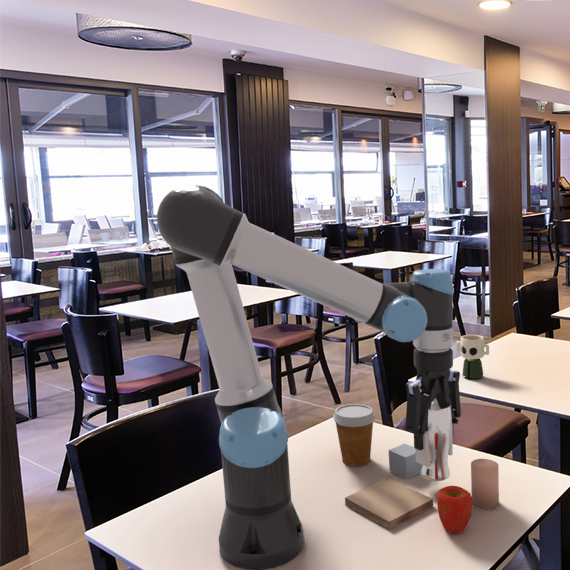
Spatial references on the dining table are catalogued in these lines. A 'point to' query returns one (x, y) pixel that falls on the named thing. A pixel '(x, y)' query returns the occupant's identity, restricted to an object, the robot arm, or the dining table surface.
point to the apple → (454, 508)
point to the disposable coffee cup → (354, 433)
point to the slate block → (403, 461)
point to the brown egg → (485, 484)
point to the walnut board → (389, 502)
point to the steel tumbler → (438, 443)
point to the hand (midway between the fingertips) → (434, 458)
